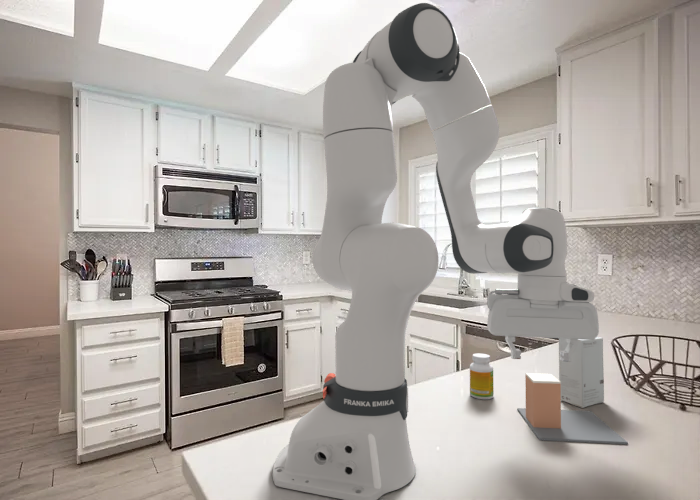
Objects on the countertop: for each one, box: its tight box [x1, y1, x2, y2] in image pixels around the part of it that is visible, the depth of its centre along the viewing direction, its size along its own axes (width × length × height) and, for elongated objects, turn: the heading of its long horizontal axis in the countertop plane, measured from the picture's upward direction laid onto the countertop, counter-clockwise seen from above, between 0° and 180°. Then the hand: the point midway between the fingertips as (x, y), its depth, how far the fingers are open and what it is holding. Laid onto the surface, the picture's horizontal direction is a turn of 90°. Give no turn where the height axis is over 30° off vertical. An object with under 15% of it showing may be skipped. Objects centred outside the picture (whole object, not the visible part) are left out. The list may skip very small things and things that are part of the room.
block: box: [524, 372, 562, 428], centre depth 81 cm, size 5×5×9 cm
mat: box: [516, 407, 629, 445], centre depth 80 cm, size 15×14×1 cm
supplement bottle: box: [469, 352, 494, 400], centre depth 97 cm, size 5×5×10 cm
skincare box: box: [558, 336, 605, 409], centre depth 93 cm, size 8×6×15 cm
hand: (540, 359), depth 80 cm, fingers open, 8 cm apart
